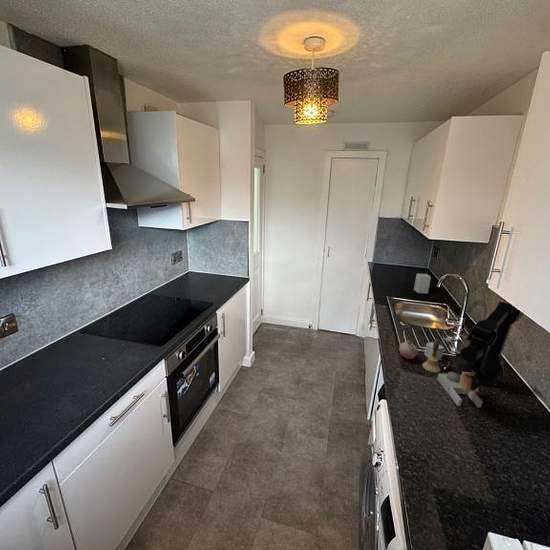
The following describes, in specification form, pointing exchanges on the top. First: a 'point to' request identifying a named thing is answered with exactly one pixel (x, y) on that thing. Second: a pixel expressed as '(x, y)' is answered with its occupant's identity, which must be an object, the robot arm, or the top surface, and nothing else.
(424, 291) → the supplement box
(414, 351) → the decorative fruit
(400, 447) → the top surface
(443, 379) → the two-pronged gray clamp
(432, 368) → the hand bell
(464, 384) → the cardboard shipping carton
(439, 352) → the product box
